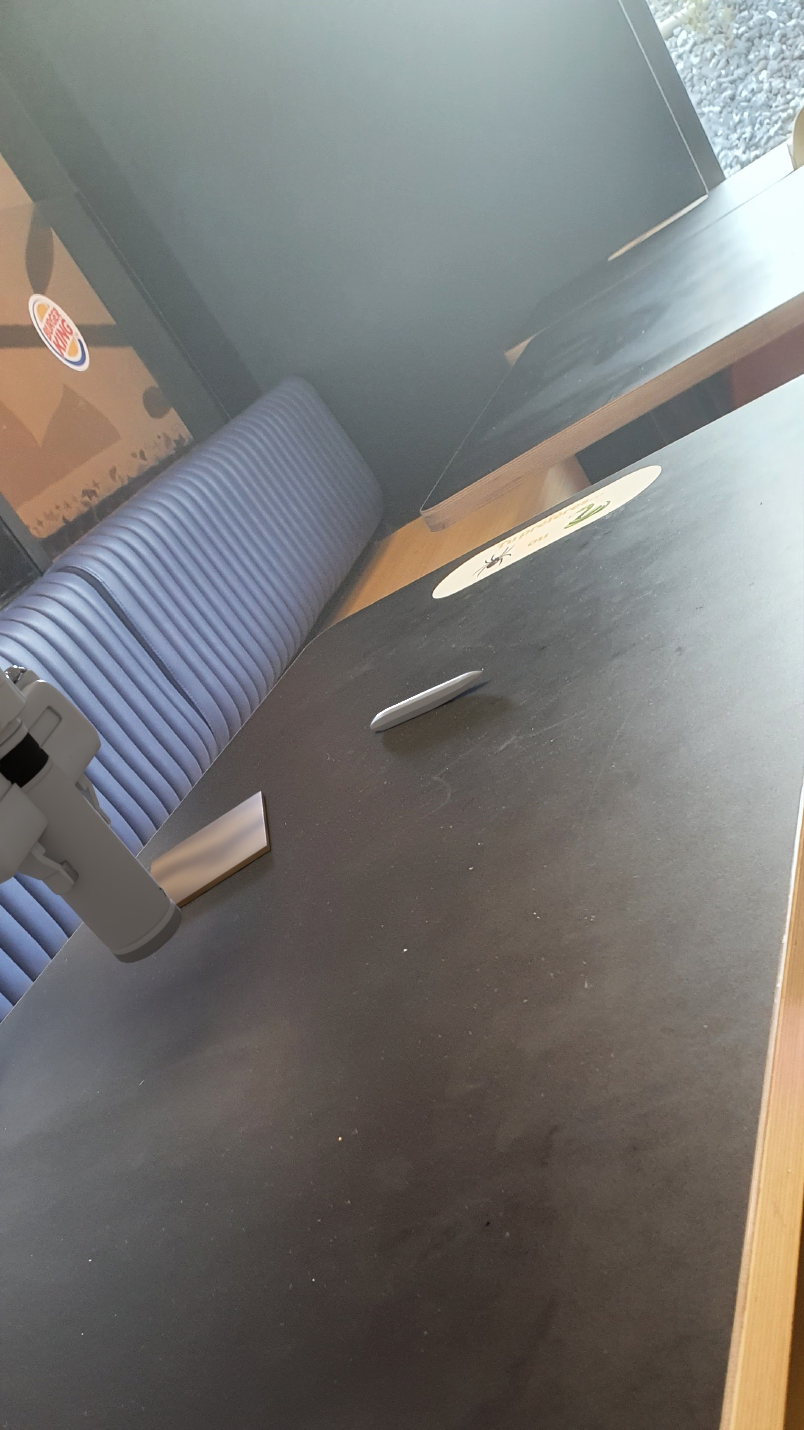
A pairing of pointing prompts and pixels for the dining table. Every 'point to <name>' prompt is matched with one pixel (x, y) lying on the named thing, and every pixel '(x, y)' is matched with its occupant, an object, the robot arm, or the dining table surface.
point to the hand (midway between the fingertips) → (86, 858)
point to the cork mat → (214, 852)
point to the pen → (424, 701)
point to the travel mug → (94, 860)
